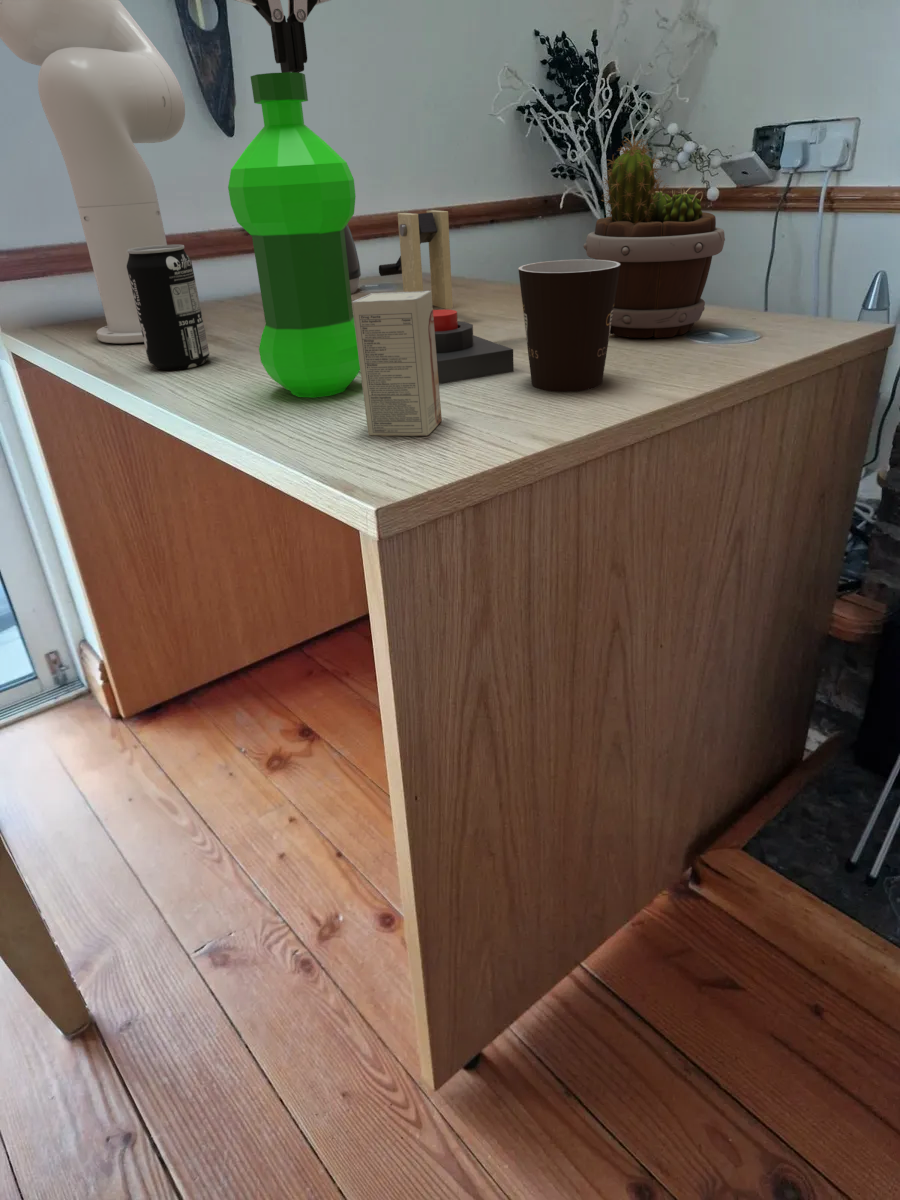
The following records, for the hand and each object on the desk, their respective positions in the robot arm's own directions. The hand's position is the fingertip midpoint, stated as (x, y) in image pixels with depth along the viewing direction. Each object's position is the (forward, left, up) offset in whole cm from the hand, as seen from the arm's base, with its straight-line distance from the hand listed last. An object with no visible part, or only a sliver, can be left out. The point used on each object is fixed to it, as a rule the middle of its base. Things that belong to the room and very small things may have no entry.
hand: (292, 71), depth 81 cm
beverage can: (0, -17, -27) cm, 32 cm away
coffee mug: (+32, +14, -27) cm, 44 cm away
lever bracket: (-6, +16, -27) cm, 32 cm away
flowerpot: (+18, +33, -27) cm, 46 cm away
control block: (+20, +6, -27) cm, 34 cm away
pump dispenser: (-30, +10, -27) cm, 42 cm away
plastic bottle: (+21, -7, -27) cm, 35 cm away
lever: (-10, +16, -20) cm, 27 cm away
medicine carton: (+37, -5, -27) cm, 46 cm away
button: (+20, +6, -24) cm, 31 cm away
